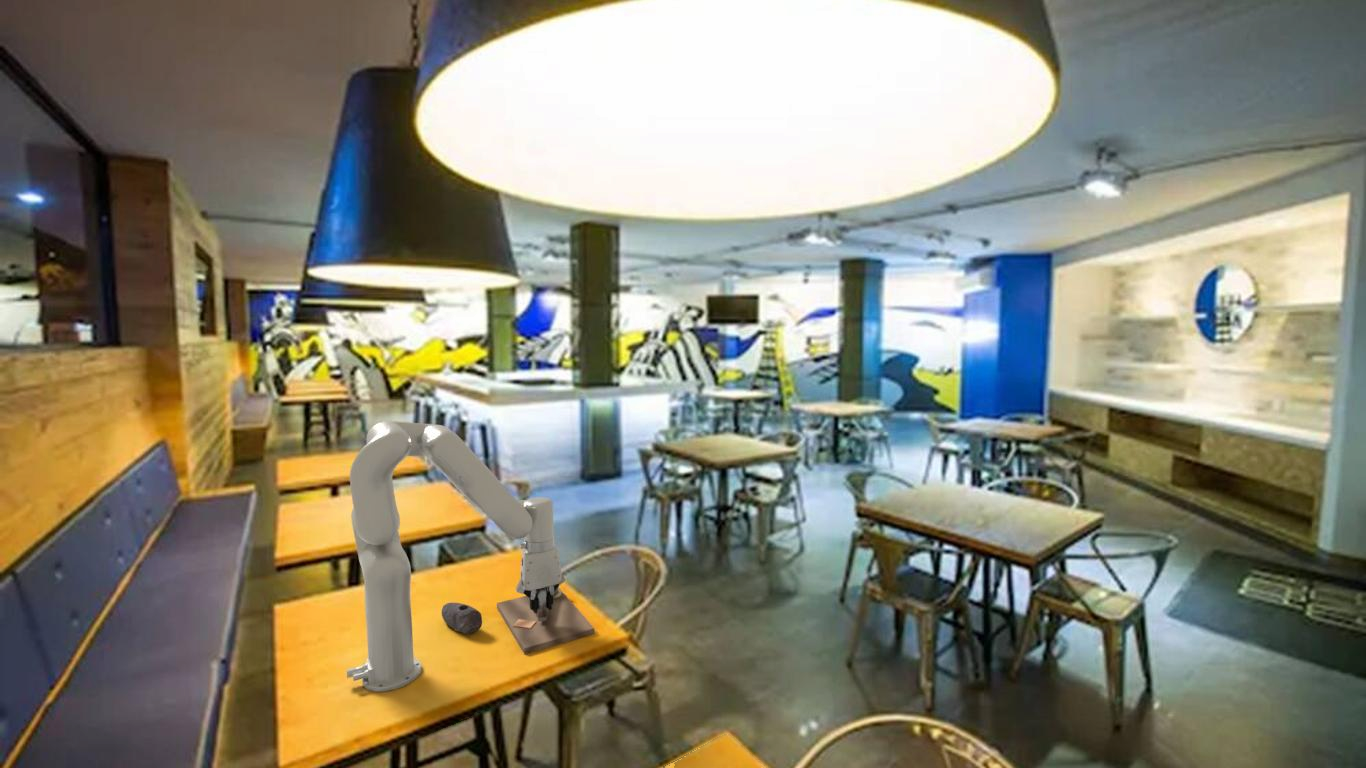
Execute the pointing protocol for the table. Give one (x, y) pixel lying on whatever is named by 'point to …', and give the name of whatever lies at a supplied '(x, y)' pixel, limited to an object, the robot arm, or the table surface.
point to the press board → (544, 623)
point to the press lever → (543, 603)
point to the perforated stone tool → (462, 617)
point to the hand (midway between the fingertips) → (541, 608)
